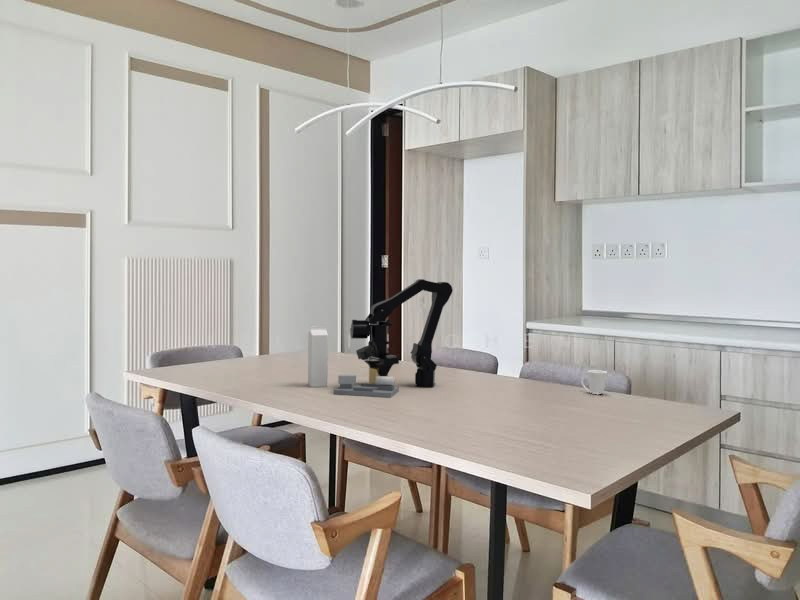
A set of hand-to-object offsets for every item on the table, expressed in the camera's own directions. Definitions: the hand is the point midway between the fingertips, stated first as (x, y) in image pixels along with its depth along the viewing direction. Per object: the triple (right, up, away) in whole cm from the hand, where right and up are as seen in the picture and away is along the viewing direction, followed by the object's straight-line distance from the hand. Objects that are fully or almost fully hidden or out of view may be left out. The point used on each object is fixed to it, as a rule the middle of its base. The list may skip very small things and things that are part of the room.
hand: (378, 381), depth 234 cm
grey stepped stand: (-4, -3, -12) cm, 13 cm away
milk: (-22, -2, +1) cm, 22 cm away
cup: (+77, -4, -6) cm, 77 cm away
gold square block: (0, -1, 0) cm, 1 cm away
